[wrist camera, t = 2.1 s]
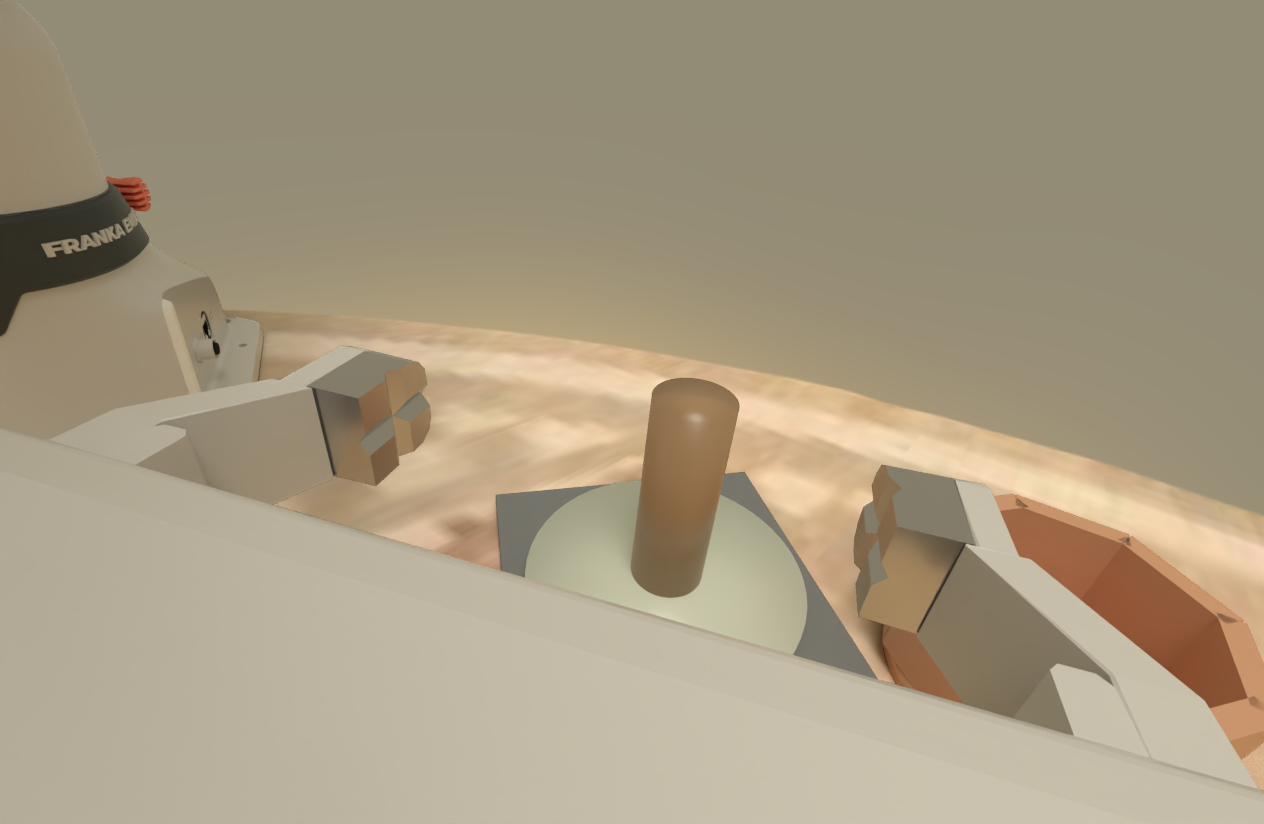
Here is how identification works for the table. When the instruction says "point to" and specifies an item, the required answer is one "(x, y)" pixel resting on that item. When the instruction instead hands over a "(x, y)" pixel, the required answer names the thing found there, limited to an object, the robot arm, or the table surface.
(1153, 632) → the bowl
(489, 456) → the table surface
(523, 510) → the mat
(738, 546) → the lid
